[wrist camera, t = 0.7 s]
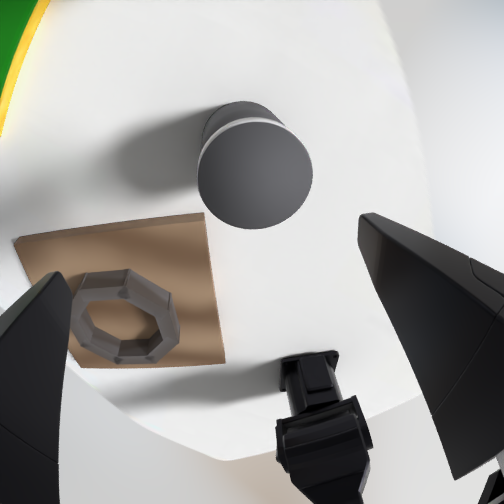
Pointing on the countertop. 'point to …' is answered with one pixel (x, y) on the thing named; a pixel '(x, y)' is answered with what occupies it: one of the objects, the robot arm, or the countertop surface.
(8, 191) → the countertop surface
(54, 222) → the countertop surface
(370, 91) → the countertop surface
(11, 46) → the dish sponge
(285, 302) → the countertop surface
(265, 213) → the lens
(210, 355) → the mount
